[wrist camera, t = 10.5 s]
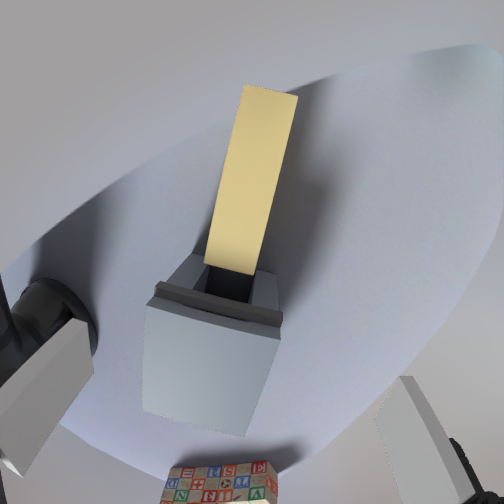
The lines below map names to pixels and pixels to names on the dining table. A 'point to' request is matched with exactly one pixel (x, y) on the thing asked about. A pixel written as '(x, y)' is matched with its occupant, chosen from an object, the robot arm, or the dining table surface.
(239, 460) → the dining table surface
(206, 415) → the dispenser
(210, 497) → the stack of blocks
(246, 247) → the upright yellow slab
